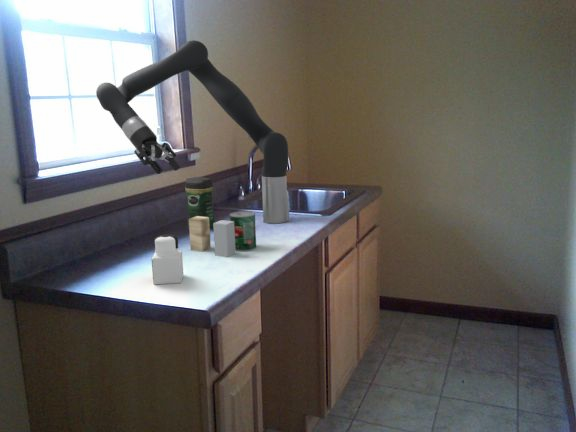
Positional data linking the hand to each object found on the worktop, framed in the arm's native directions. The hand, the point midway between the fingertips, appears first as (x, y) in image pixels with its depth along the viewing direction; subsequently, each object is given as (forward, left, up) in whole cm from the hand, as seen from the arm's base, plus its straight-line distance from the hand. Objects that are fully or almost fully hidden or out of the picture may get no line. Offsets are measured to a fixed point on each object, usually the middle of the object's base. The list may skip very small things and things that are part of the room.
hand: (169, 170), depth 185 cm
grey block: (-13, +19, -24) cm, 33 cm away
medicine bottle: (+6, +37, -24) cm, 45 cm away
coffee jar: (-12, -18, -24) cm, 32 cm away
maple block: (-7, +10, -24) cm, 27 cm away
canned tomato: (-20, +14, -24) cm, 34 cm away
